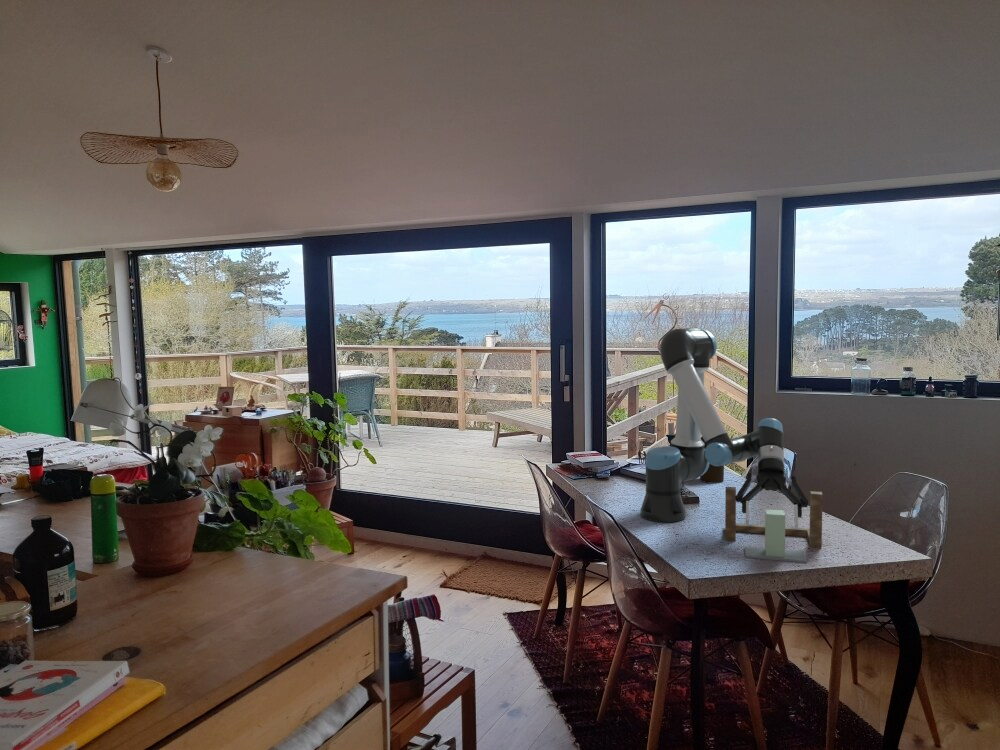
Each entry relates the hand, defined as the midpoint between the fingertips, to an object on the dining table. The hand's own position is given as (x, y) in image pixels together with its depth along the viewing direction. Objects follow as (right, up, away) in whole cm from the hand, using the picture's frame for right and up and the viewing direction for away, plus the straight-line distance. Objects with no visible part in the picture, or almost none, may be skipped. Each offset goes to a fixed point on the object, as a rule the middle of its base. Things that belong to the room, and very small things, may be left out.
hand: (771, 524), depth 201 cm
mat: (-1, -8, -4) cm, 9 cm away
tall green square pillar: (-1, -7, -4) cm, 8 cm away
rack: (+4, -7, +11) cm, 14 cm away
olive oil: (+9, -1, +87) cm, 87 cm away
